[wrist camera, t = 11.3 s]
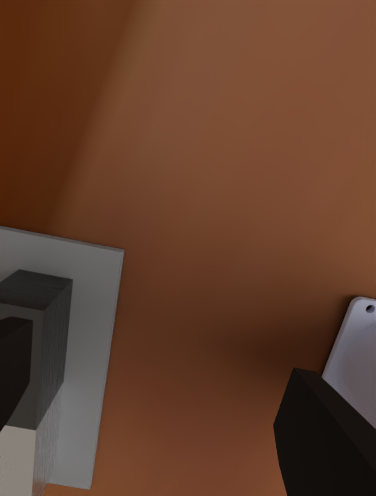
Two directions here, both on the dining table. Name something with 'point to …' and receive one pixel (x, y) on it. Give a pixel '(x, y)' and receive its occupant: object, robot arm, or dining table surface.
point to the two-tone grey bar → (36, 381)
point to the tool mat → (75, 336)
